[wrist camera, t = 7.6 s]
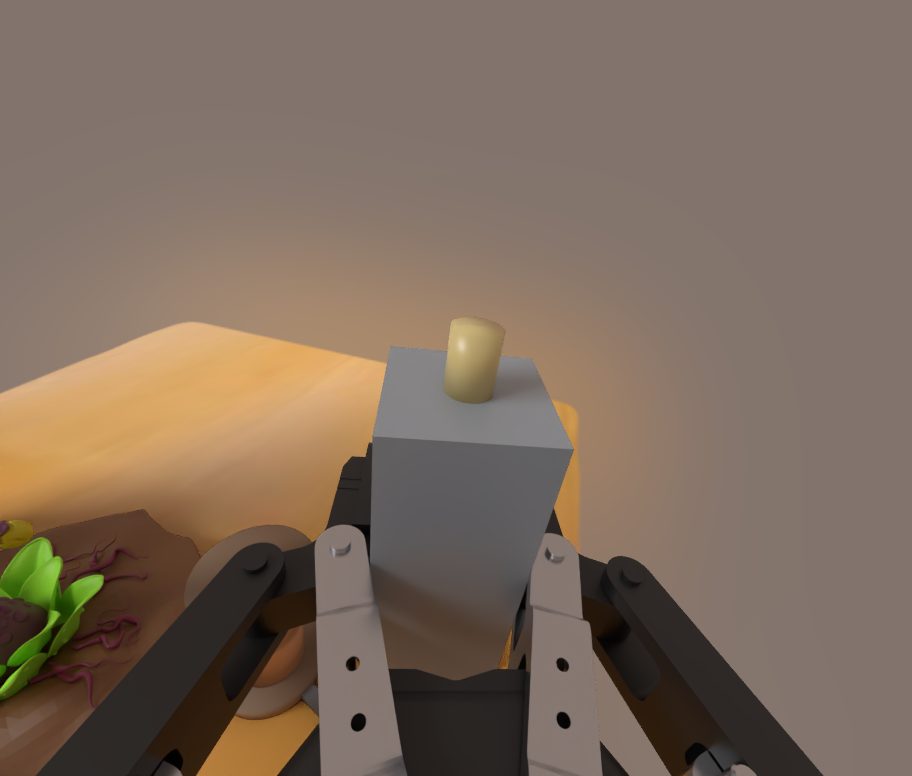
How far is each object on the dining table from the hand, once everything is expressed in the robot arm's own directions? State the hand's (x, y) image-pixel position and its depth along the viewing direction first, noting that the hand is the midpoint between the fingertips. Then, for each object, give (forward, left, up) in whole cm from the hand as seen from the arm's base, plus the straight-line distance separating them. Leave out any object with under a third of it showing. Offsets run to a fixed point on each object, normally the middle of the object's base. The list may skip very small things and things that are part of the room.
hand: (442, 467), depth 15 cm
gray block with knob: (+2, -1, -6) cm, 7 cm away
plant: (-13, -18, -20) cm, 31 cm away
